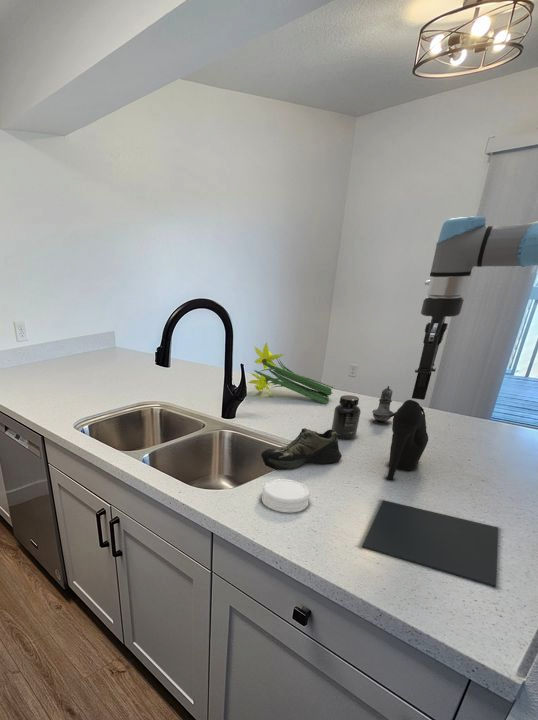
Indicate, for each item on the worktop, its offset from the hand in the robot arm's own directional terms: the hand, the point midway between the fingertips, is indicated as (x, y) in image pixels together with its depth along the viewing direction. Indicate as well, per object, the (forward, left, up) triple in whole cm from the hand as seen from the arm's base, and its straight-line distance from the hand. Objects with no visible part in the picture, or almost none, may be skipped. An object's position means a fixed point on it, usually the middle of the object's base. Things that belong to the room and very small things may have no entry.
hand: (418, 398), depth 108 cm
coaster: (+18, +39, -16) cm, 46 cm away
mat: (-10, +38, -16) cm, 43 cm away
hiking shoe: (+22, +17, -16) cm, 32 cm away
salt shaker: (+10, -24, -16) cm, 31 cm away
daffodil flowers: (+45, -39, -16) cm, 62 cm away
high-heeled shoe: (0, +9, -16) cm, 19 cm away
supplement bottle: (+17, -7, -16) cm, 24 cm away
